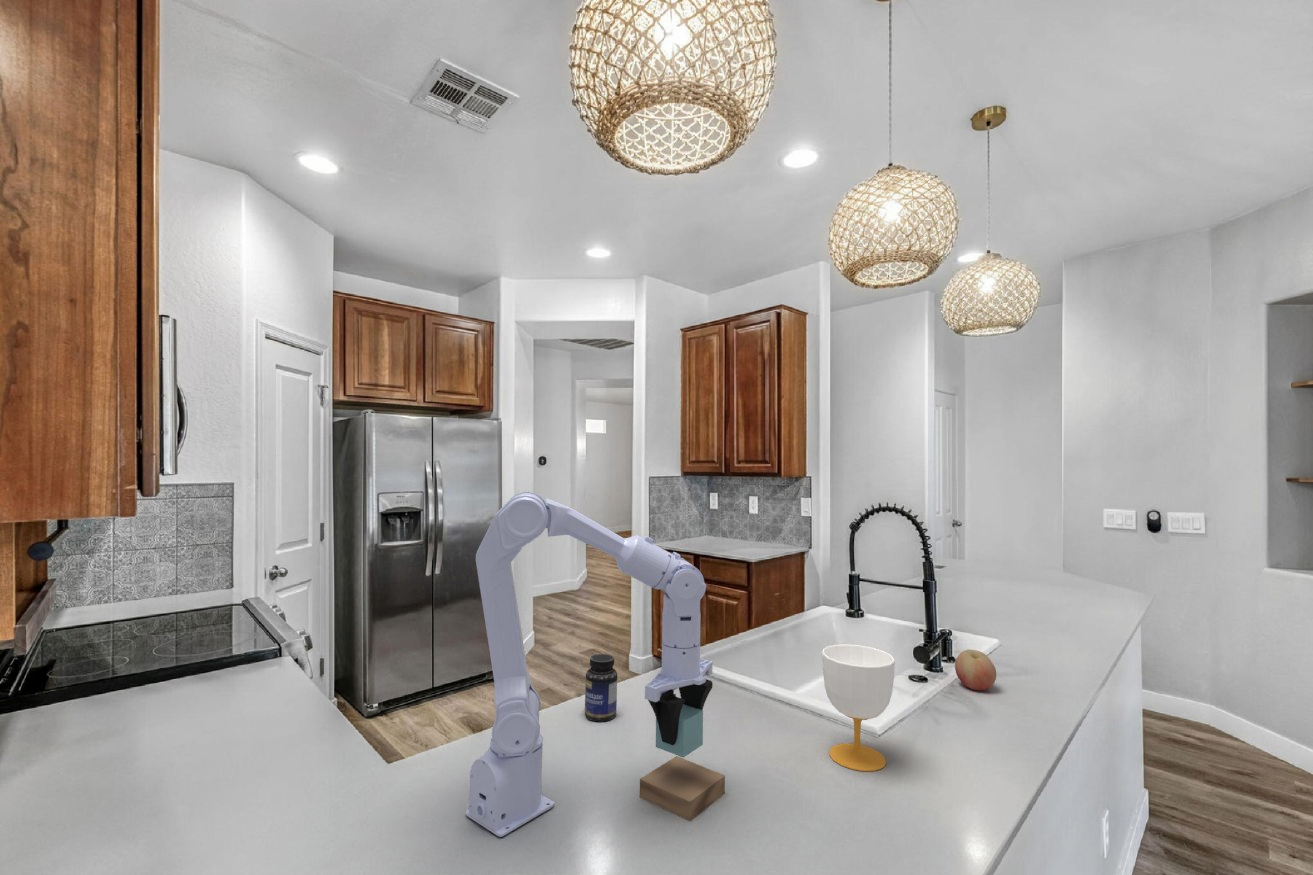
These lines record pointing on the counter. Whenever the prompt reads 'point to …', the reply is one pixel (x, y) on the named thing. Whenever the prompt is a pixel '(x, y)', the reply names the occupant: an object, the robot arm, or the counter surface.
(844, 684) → the cup
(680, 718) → the teal cube
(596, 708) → the pill bottle
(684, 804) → the walnut block
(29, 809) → the counter surface
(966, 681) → the fruit
